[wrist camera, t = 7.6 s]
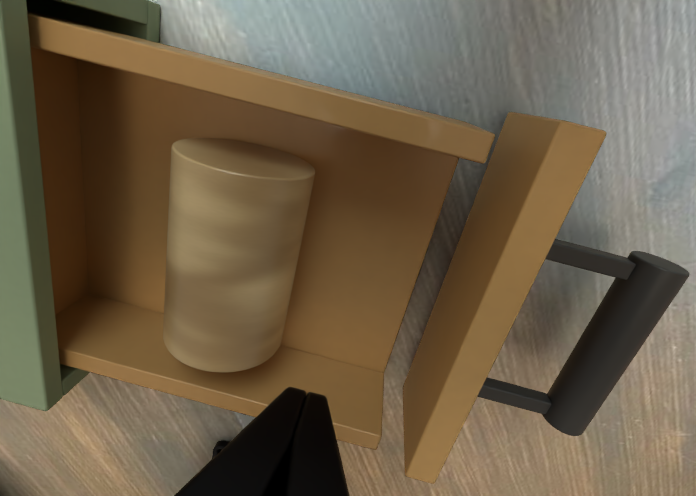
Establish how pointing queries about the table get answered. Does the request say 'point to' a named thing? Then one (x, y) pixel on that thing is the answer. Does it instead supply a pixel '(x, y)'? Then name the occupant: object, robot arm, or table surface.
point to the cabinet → (37, 199)
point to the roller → (231, 250)
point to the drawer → (322, 238)
